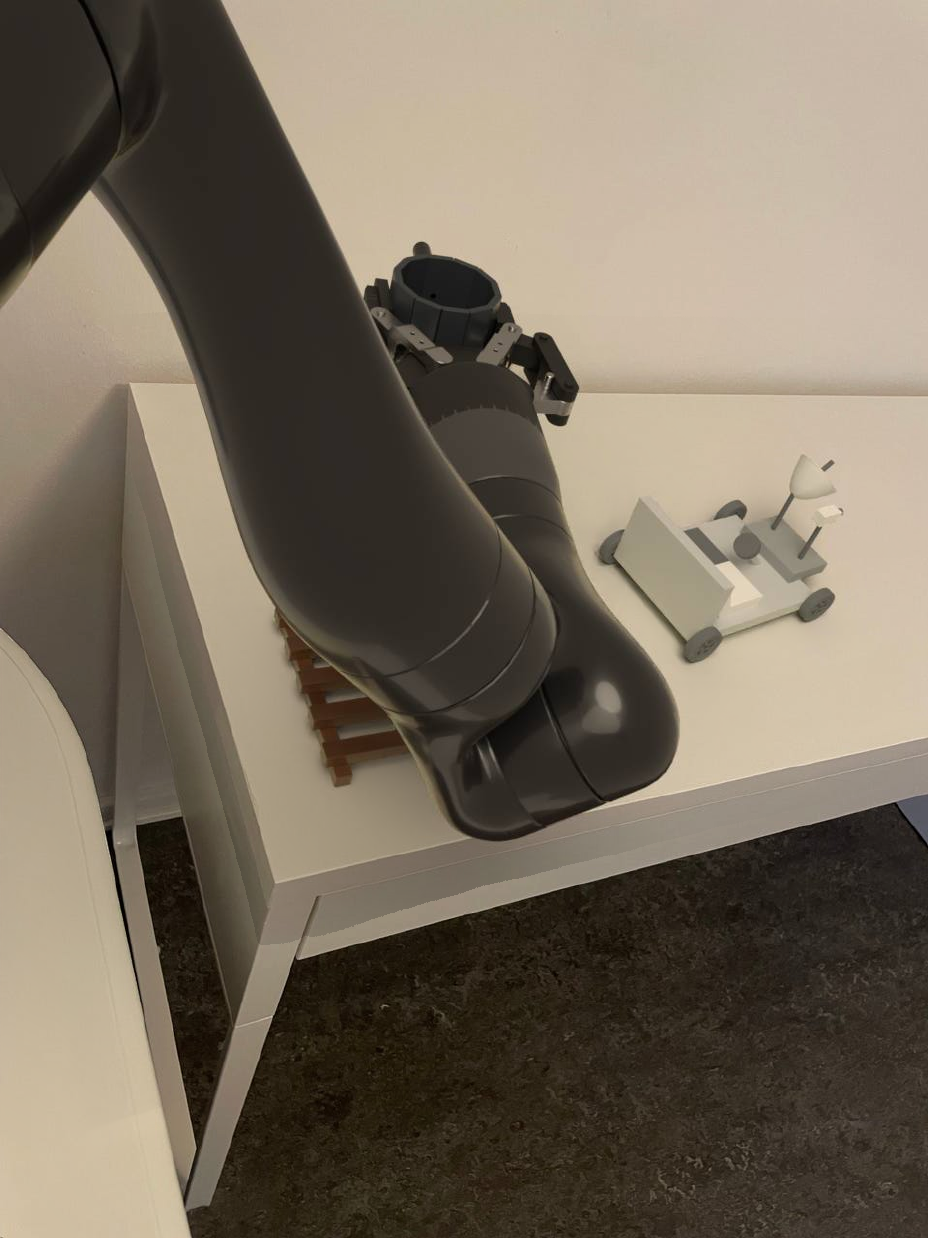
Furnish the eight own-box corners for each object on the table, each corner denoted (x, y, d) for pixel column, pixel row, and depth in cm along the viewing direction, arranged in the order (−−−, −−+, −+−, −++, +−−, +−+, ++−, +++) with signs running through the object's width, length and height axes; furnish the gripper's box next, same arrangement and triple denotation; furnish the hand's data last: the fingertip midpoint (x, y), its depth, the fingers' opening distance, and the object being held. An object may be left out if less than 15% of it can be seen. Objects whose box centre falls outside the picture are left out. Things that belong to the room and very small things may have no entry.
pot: (473, 443, 65) (509, 317, 59) (375, 434, 64) (401, 304, 57) (446, 337, 73) (475, 217, 67) (357, 327, 72) (379, 202, 65)
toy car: (804, 425, 83) (909, 518, 77) (753, 516, 90) (845, 609, 84) (635, 462, 74) (738, 571, 68) (593, 560, 81) (683, 667, 75)
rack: (269, 617, 69) (271, 596, 68) (394, 602, 73) (399, 582, 72) (326, 789, 61) (330, 770, 60) (464, 762, 65) (471, 744, 63)
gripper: (632, 425, 52) (560, 257, 63) (348, 398, 48) (324, 224, 59) (587, 534, 57) (527, 362, 68) (328, 518, 53) (309, 338, 64)
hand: (433, 299), depth 64 cm, fingers closed on pot, 6 cm apart
